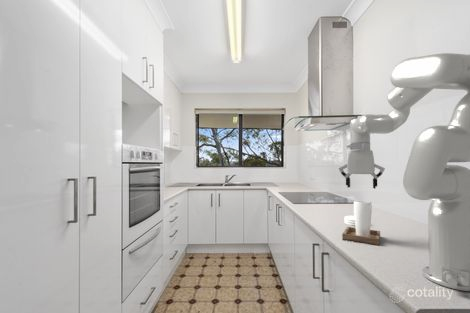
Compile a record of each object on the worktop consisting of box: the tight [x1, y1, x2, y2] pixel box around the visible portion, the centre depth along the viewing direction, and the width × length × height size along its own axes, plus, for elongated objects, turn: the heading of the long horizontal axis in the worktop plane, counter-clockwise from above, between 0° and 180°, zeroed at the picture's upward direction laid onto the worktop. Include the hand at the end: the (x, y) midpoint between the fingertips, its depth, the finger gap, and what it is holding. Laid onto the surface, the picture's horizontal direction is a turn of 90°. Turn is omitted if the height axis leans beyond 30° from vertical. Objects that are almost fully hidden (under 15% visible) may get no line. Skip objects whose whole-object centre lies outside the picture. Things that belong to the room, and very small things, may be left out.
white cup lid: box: [344, 215, 355, 227], centre depth 126 cm, size 10×10×4 cm
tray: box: [341, 226, 381, 247], centre depth 102 cm, size 13×13×2 cm
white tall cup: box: [353, 199, 373, 237], centre depth 102 cm, size 7×7×15 cm
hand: (361, 187), depth 102 cm, fingers open, 9 cm apart
